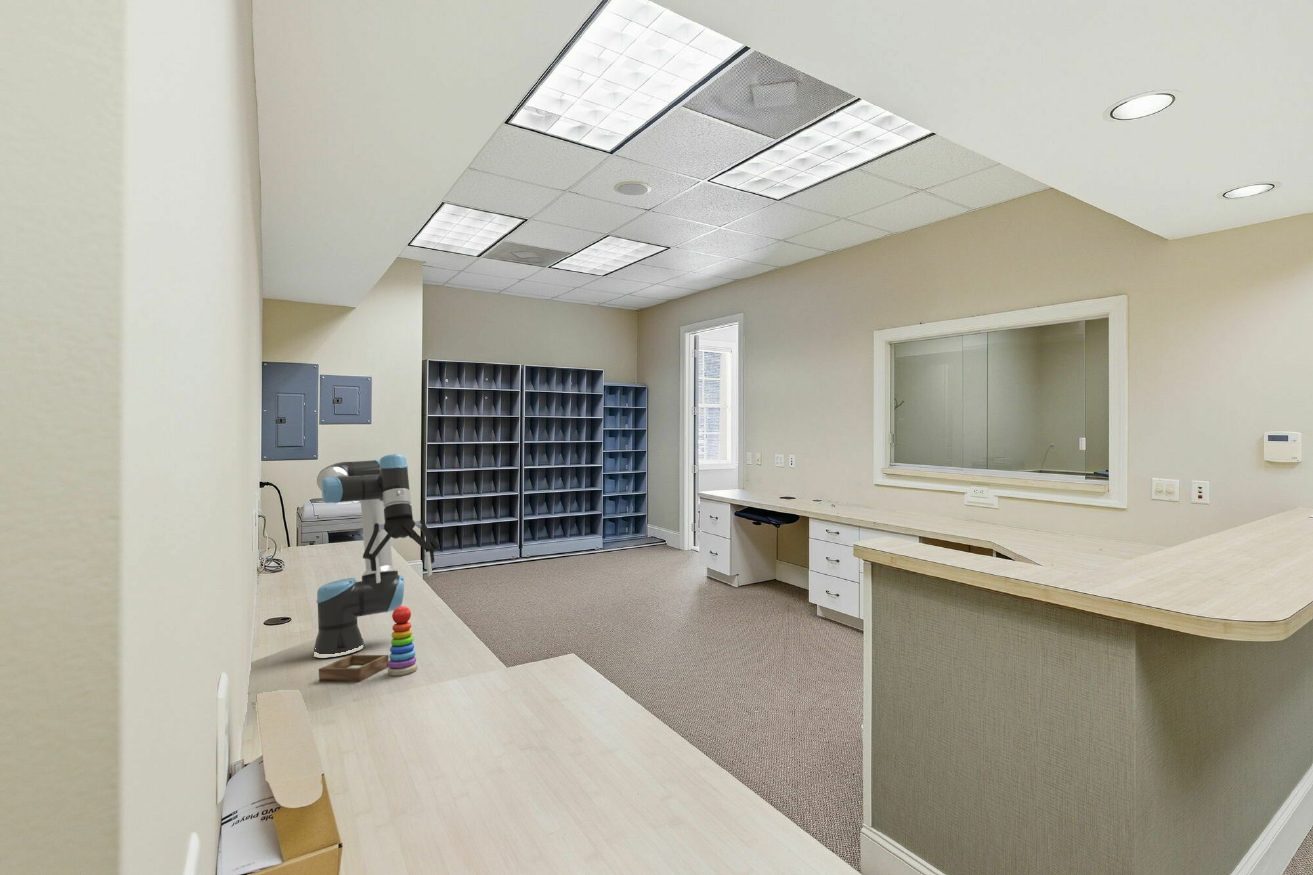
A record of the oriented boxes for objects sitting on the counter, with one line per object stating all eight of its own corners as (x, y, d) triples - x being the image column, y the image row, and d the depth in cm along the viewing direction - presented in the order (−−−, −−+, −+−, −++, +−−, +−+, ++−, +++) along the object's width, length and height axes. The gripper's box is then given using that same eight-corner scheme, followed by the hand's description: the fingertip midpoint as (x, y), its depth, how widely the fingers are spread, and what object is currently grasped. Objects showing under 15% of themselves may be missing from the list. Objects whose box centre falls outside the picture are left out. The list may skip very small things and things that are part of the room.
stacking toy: (407, 676, 175) (403, 609, 176) (381, 676, 176) (378, 610, 177) (423, 667, 183) (419, 603, 184) (398, 667, 184) (395, 603, 185)
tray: (351, 666, 189) (351, 654, 189) (389, 666, 186) (388, 654, 186) (319, 681, 176) (318, 668, 176) (358, 682, 173) (357, 669, 173)
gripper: (351, 506, 171) (357, 582, 165) (444, 498, 185) (453, 569, 178) (348, 513, 177) (354, 588, 171) (439, 506, 191) (447, 574, 184)
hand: (404, 578), depth 174 cm, fingers open, 13 cm apart
